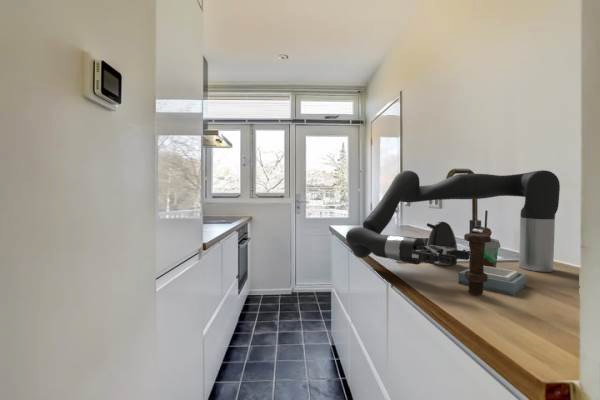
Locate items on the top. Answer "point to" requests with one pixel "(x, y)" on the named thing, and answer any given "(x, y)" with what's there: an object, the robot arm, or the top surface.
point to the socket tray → (499, 280)
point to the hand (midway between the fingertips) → (462, 258)
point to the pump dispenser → (442, 237)
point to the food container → (491, 253)
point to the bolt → (476, 262)
